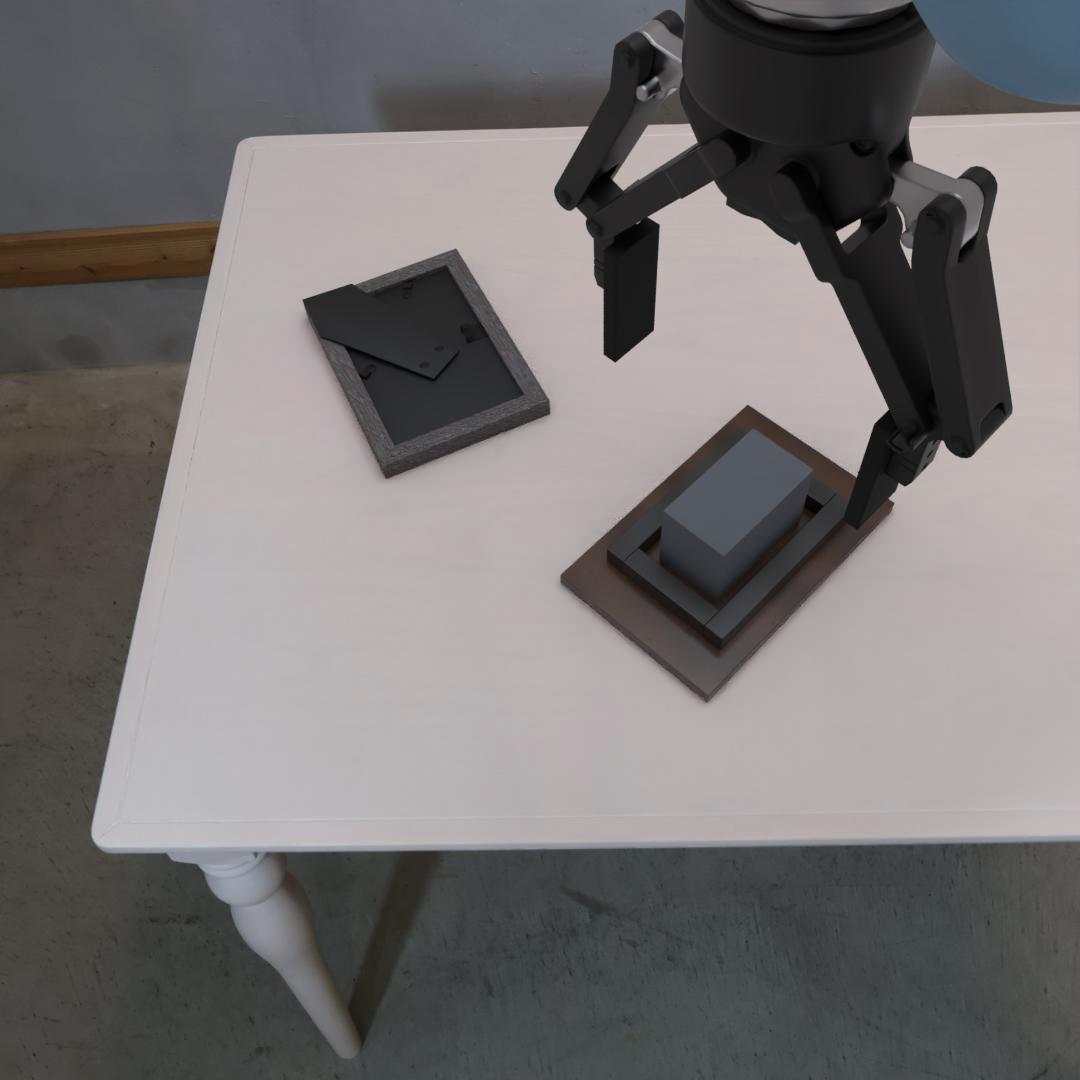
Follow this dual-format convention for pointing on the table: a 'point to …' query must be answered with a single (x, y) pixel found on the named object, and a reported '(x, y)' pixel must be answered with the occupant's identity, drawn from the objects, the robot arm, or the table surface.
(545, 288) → the table surface
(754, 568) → the back plate
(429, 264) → the picture frame
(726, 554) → the pad block
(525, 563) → the table surface
